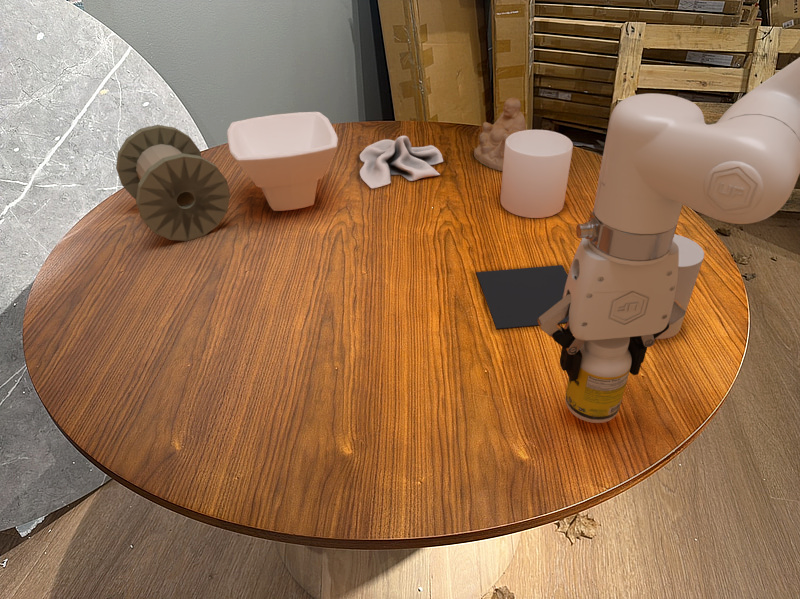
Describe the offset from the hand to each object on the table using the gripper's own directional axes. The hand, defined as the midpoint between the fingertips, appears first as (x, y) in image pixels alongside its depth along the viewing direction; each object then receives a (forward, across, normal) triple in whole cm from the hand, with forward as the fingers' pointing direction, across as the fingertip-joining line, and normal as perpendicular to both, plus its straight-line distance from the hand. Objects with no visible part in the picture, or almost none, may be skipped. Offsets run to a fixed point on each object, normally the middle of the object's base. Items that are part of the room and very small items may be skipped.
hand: (599, 368), depth 69 cm
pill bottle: (+6, 0, 0) cm, 6 cm away
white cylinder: (+8, +8, +52) cm, 53 cm away
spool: (+8, -57, +56) cm, 81 cm away
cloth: (+8, -15, +72) cm, 74 cm away
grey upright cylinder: (+8, +15, +16) cm, 23 cm away
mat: (+8, 0, +24) cm, 25 cm away
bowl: (+8, -37, +59) cm, 70 cm away
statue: (+8, +7, +72) cm, 73 cm away
